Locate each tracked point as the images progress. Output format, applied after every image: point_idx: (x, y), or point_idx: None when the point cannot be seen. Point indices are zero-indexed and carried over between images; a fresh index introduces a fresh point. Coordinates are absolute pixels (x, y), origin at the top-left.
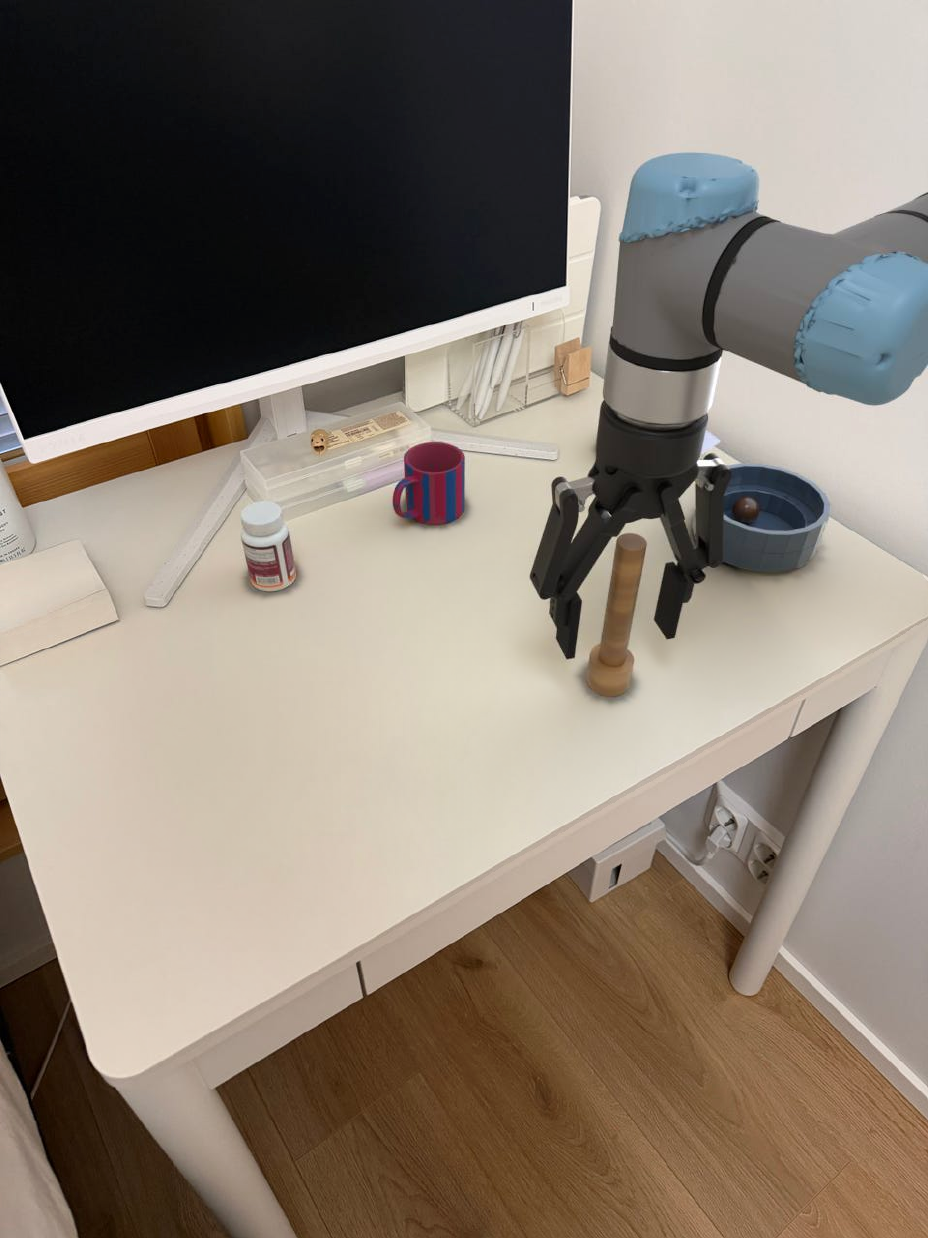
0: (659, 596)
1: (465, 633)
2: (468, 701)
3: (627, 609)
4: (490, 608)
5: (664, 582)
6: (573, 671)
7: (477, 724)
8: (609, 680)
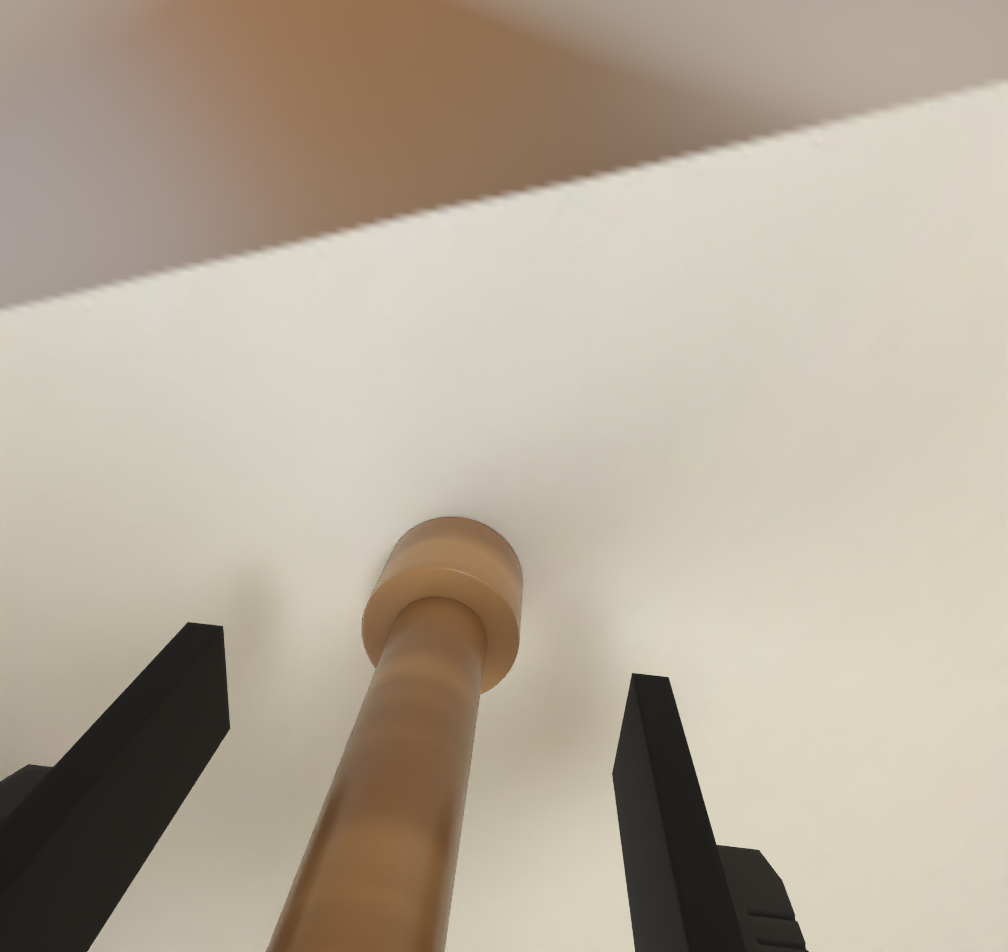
0: (157, 834)
1: None
2: (890, 656)
3: (372, 840)
4: None
5: (87, 923)
6: (535, 645)
7: (919, 572)
8: (483, 561)
